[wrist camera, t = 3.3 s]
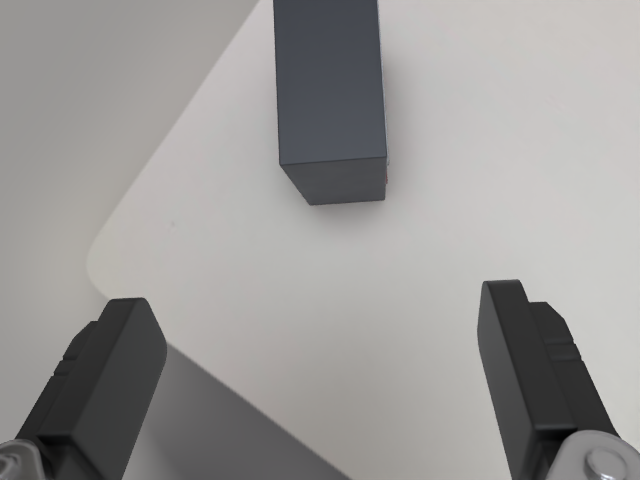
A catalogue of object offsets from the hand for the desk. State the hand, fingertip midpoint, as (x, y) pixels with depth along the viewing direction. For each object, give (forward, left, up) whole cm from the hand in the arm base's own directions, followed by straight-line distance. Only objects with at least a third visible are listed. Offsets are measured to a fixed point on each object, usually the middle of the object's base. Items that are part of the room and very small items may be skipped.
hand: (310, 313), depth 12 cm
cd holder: (+4, +11, -20) cm, 23 cm away
